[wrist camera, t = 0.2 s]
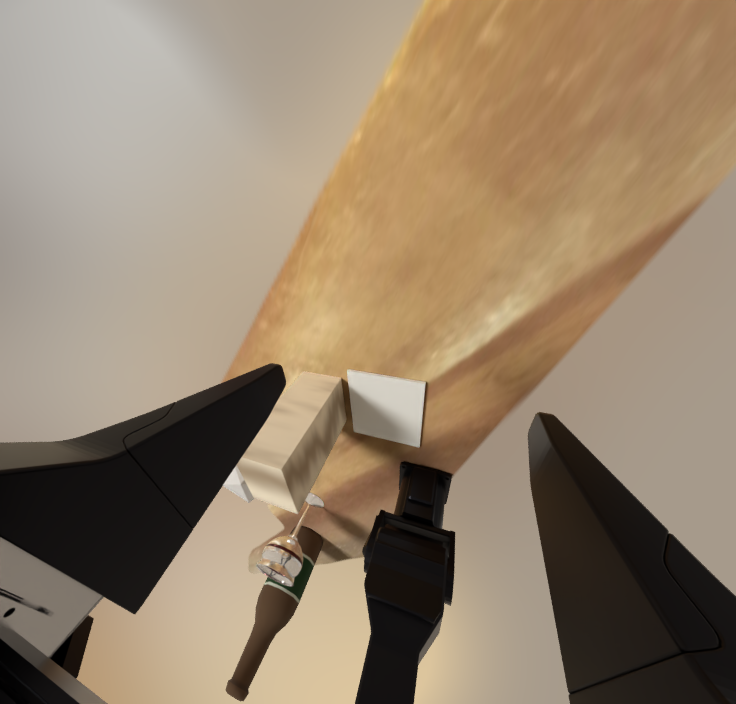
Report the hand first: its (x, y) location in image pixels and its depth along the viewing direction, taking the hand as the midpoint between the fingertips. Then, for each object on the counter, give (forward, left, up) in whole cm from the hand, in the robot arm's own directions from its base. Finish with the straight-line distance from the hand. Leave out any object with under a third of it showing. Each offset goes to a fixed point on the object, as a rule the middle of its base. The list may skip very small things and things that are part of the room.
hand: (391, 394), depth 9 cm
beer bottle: (-61, +23, -15) cm, 67 cm away
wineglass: (-44, +19, -15) cm, 50 cm away
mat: (-16, +4, -14) cm, 22 cm away
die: (-31, +25, -15) cm, 43 cm away
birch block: (-16, +12, -15) cm, 25 cm away
